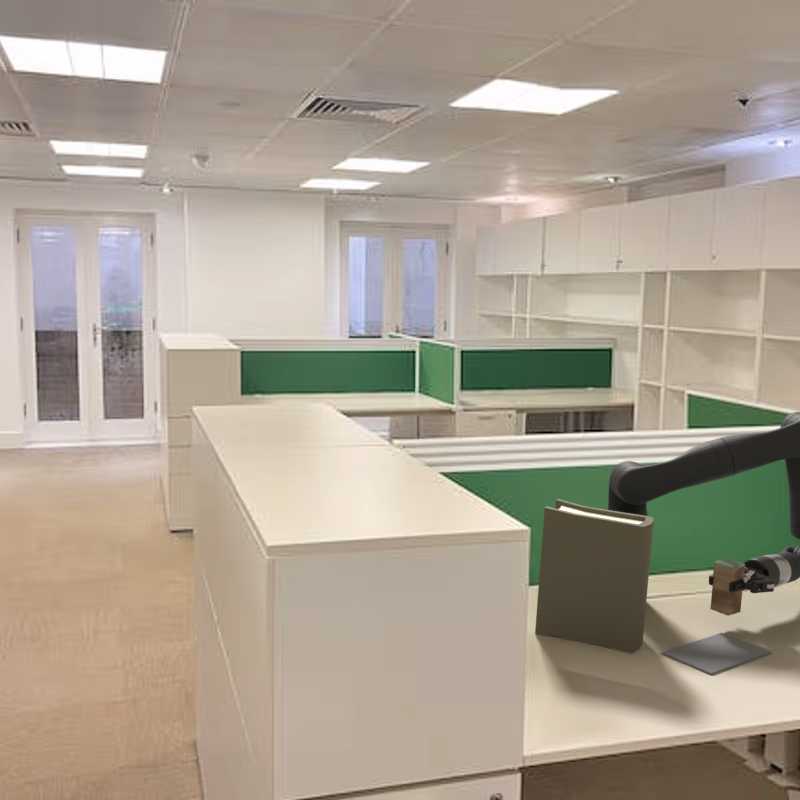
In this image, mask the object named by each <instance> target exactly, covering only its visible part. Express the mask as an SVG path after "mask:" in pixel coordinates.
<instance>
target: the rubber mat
mask: <svg viewBox="0 0 800 800" xmlns="http://www.w3.org/2000/svg"><path fill="white" fill-rule="evenodd" d="M771 654H772V651H770V650H768V649H766V648H763V647H760V646H758V645H755V644H752V643H750V642H747V641H744V640H741V639H739V638H737V637H733V636H731V635H728V634H727V633H723V632H719V633H716V634H712V635H710V636H707V637H705V638H700V639H697V640H695V641H692V642H689V643H685V644H682V645H680V646H676V647H673V648H670V649H666V650H664V651H661V655H663V656H666V657H669V658H670V659H673V660H675V661H677V662H679V663H682V664H684V665H687V666H689V667H692V668H693V669H696V670H699V671H700V672H703V673H705V674H707V675H710V676H713V675H716V674H718V673H722V672H725V671H726V670H729V669H732V668H734V667H738V666H741V665H743V664H746V663H749V662H751V661H754V660H757V659H759V658H760V659H761V658H763V657H765V656H766V657H767V656H768V655H771Z"/></svg>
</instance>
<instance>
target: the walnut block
mask: <svg viewBox="0 0 800 800" xmlns="http://www.w3.org/2000/svg"><path fill="white" fill-rule="evenodd" d="M713 567H714V568H713V570H714V575H713V574H712V575H713V576H714V578H713V586H712V585H711V588H712V589H711V590H712V591H711V600H710V609H709V610H712V611H715V612H717V613H720V614H723V615H725V616H732V615H735V614H738V613H741V612H742V611H741V609H742V599H743V591H742V590H740V591H736V592H733V593H732V592H729V583H730V582H732V581H736V580H742V579H743V578H744V570H745V564H744V562H740V561H737V560H734V559H731V558H723V559H722V558H721V559H718V560H715V561H714V566H713Z"/></svg>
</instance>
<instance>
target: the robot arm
mask: <svg viewBox="0 0 800 800" xmlns="http://www.w3.org/2000/svg"><path fill="white" fill-rule="evenodd" d="M783 460H785V461H784V462H785V468H786V475H787V482H788V483H787V484H788V499H789V530H790V531H789V532H790V535H791V536H793V538H796V539H797V540H800V411H795V412H794V411H793V412H792V413H789V414H787V415H786V416H785V417H784V418H783V419H782V422H781V423H780V427H779V428H775V429H772V430H767V431H764V432H762V431H761V432H753V433H752V432H751V433H742V434H733V435H728V436H727V435H726V436H722V437H719V438H715V439H712V440H708V441H704V442H702V443H699V444H697V445H695V446H692V448H689V449H688V450H686V451H685V452H683V453H681V454H680V455H678V456H677V457H674V458H672V459H669V460H666V461H663V462H659V463H654V464H649V465H641V464H640V463H637V462H636V461H632V460H625V461H622V462H620V463H618V464H616V465H615V466H614V467H613V469H612V471H611V473H610V475H609V480H608V481H609V483H608V500H607V501H608V505H607V510H611V511H617V512H624V513H630V514H637V515H644V516H649V514H648V508H647V503H648V502H651V501H653V500H656V499H658V498H661V497H663V496H665V495H668V494H671V493H674V492H676V491H678V490H682V489H686V488H690V487H695V486H700V485H703V484H706V483H709V482H714V481H717V480H722V479H725V478H728V477H729V478H730V477H732V476H735V475H738V474H741V473H745V472H748V471H751V470H754V469H758V468H760V467H764V466H766V465H769V464H772V463H775V462H778V461H779V462H780V461H783ZM743 563H744V564H745V570H744V578H743V579H742V580H736V581H732V582H730V583H729V592H732V593H733V592H736V591H740V590H742V592H749V591H750V593H751V594H758V593H759V594H760V593H770V592H771V593H772V592H773V593H774V591H775V588H778V587H781V586H783V585H786V584H789V583H792V582H795V581H797V580H799V579H800V545H788V546H786V547H785V548H784V549H783V550H782V551H780V552H777V553H773V554H765V555H761V556H756V557H752V558H749V559H746V560H745V561H744V562H743ZM713 575H714V569H713V571H712V574H710V575H709V576H708V585H710V586H711V587H712V586H713V578H714V576H713Z"/></svg>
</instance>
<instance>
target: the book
mask: <svg viewBox="0 0 800 800" xmlns="http://www.w3.org/2000/svg"><path fill="white" fill-rule="evenodd" d="M654 523H655V520H654V516H649V515H648V516H644V515H637V514H630V513H624V512H617V511H611V510H608V509H605V508H598V507H592V506H587V505H583V504H582V505H581V504H578V503H574V502H570V501H569V500H568V501H566V500H564V499H560V498H556V499H555V506H554V507H551V506H547V505H546V506H544V511H543V525H542V526H543V527H542V536H541V550H540V563H539V564H540V565H539V577H538V579H539V580H538V590H537V601H536V602H537V603H536V617H535V630H534V634H535V635H539V636H548V637H549V636H550V637H556V638H557V637H558V638H565V639H569V640H573V641H577V642H582V643H587V644H589V645H590V644H591V645H595V646H599V647H603V648H608V649H613V650H616V651H620V652H624V653H628V654H634V653H636V652H637V651H639V650H640V649H641V648H642V646H643V641H644V631H645V630H644V629H645V619H646V609H647V608H646V607H647V599H648V587H649V577H650V565H651V557H652V555H651V554H652V543H653V536H654V535H653V533H654Z"/></svg>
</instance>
